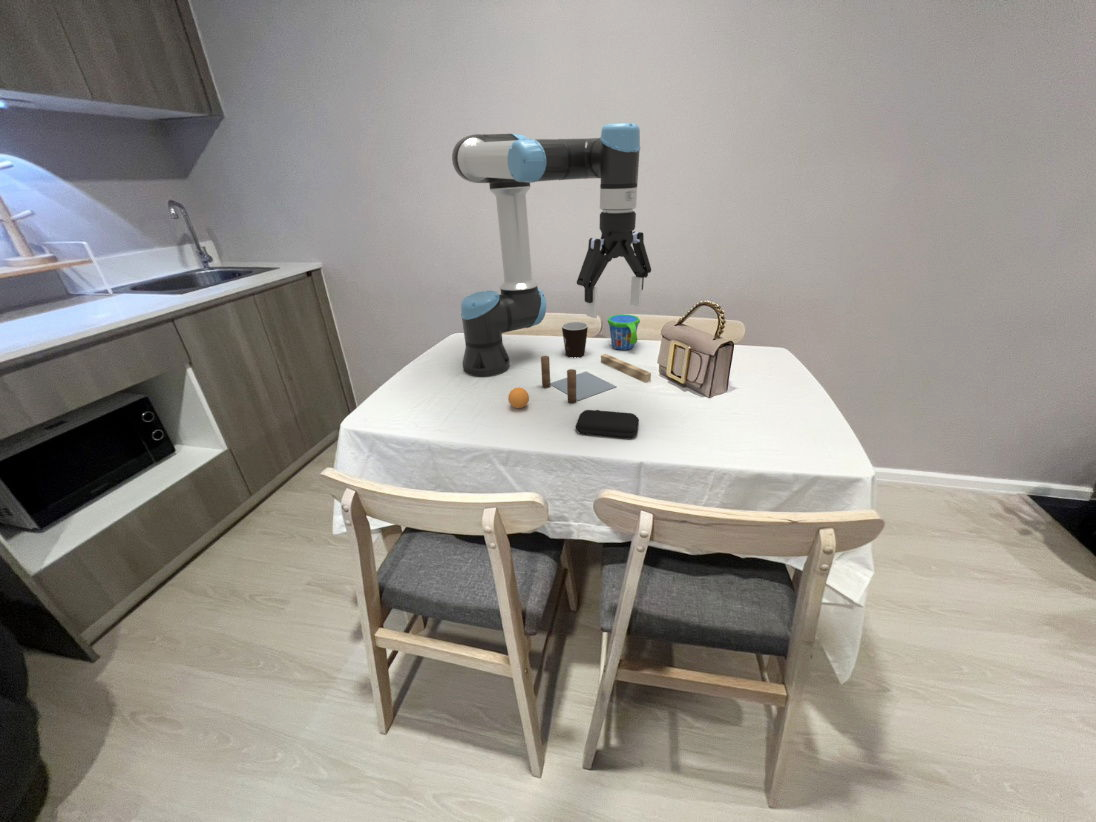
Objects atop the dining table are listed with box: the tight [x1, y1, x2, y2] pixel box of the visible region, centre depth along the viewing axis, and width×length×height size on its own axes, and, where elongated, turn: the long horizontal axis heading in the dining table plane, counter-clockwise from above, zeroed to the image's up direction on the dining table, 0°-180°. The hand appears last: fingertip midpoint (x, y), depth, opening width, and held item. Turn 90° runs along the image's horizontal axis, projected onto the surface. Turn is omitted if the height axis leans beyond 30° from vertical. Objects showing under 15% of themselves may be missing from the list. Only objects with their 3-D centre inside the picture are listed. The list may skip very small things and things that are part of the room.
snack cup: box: [607, 313, 641, 351], centre depth 158 cm, size 16×10×10 cm
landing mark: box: [550, 371, 617, 402], centre depth 134 cm, size 14×14×1 cm
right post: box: [566, 368, 577, 404], centre depth 123 cm, size 2×2×9 cm
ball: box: [507, 387, 530, 409], centre depth 122 cm, size 6×6×6 cm
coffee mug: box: [561, 321, 589, 359], centre depth 155 cm, size 12×9×10 cm
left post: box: [540, 355, 551, 389], centre depth 132 cm, size 2×2×9 cm
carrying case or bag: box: [574, 409, 640, 439], centre depth 112 cm, size 11×3×15 cm
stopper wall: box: [600, 353, 652, 383], centre depth 141 cm, size 20×2×2 cm, turn 35°
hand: (614, 310), depth 106 cm, fingers open, 13 cm apart
